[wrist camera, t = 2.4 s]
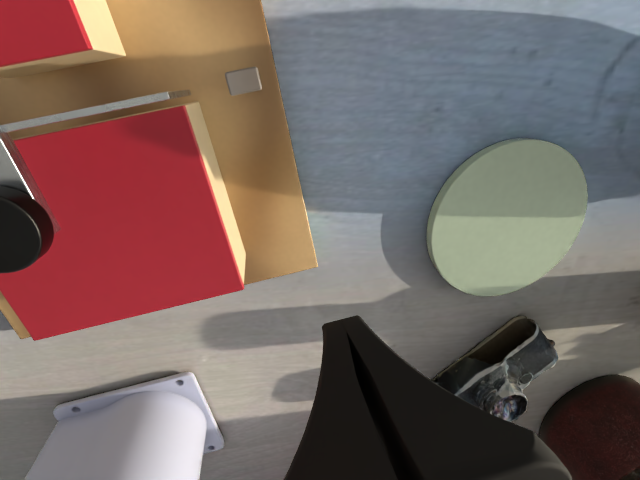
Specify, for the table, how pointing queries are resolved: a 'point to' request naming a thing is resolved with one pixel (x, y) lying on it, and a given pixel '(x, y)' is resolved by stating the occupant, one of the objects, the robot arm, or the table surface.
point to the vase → (597, 429)
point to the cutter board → (216, 104)
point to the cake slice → (55, 35)
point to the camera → (501, 369)
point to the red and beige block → (127, 222)
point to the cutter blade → (25, 196)
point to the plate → (506, 216)
